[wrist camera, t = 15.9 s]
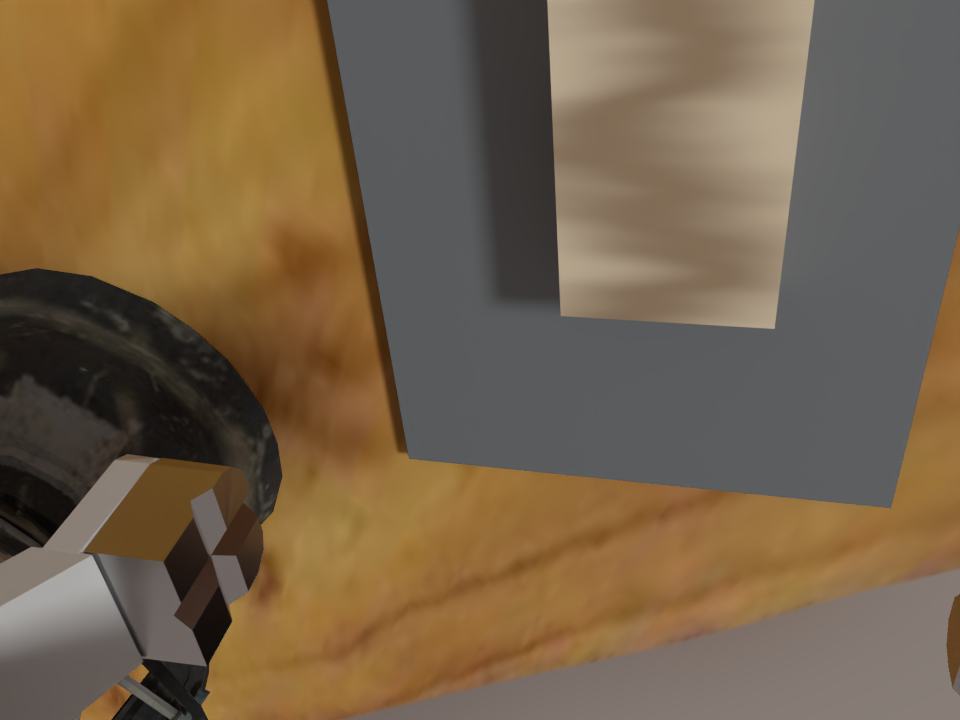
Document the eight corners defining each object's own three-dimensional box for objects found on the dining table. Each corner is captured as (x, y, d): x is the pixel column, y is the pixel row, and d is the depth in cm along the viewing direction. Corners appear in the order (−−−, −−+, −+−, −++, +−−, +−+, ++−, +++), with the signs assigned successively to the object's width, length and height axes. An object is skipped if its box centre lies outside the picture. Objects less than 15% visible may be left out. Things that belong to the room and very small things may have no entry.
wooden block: (560, 316, 25) (538, -206, 18) (574, 270, 26) (559, -218, 19) (774, 329, 23) (842, -230, 16) (773, 279, 25) (834, -240, 18)
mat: (413, 447, 33) (408, 458, 33) (285, -297, 20) (274, -296, 20) (888, 494, 29) (890, 508, 29) (1100, -390, 16) (1109, -391, 16)
